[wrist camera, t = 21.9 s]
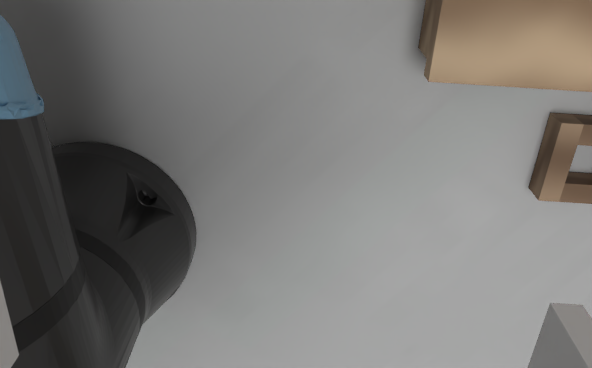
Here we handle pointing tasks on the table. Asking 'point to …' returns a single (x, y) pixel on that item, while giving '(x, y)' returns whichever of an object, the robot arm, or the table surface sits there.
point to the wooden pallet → (521, 69)
